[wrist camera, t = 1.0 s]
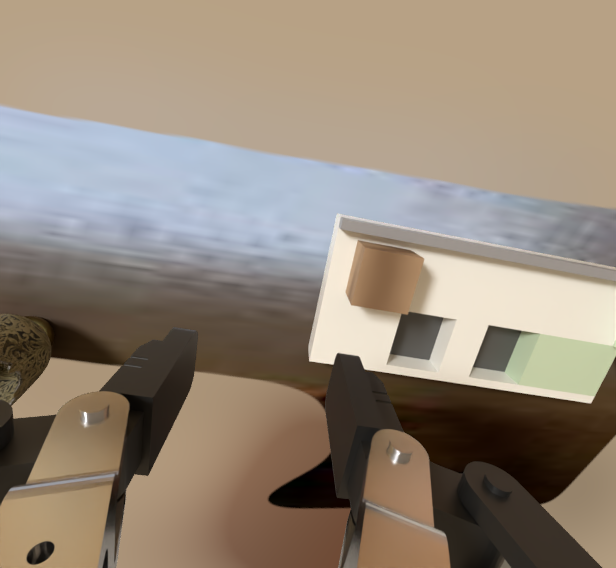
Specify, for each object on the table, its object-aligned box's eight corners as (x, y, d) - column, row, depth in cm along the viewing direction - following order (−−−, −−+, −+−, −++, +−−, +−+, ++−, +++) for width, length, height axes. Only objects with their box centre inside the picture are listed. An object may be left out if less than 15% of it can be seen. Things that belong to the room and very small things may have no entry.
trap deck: (629, 269, 32) (695, 288, 26) (571, 388, 35) (619, 425, 30) (336, 213, 29) (346, 221, 24) (308, 347, 33) (310, 380, 28)
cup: (80, 371, 33) (15, 431, 25) (-1, 361, 32) (-93, 419, 24) (79, 300, 30) (7, 341, 23) (-9, 287, 30) (-113, 326, 22)
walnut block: (411, 250, 28) (424, 258, 25) (396, 300, 29) (407, 314, 26) (357, 240, 27) (365, 247, 24) (345, 292, 29) (350, 305, 26)
